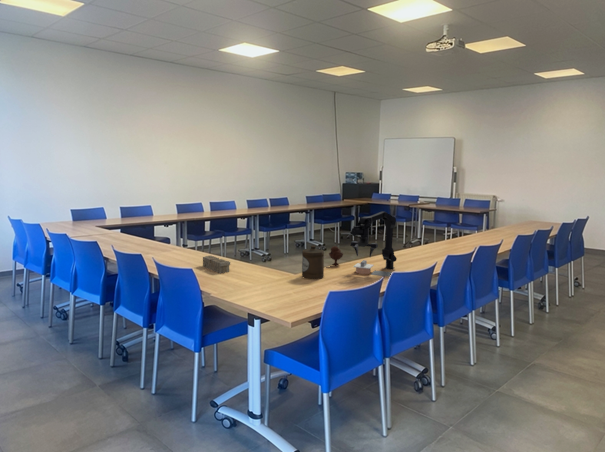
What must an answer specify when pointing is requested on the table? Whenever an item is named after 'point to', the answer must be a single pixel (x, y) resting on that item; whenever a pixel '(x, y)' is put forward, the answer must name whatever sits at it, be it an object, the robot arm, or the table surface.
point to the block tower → (216, 264)
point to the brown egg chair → (335, 254)
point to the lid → (363, 265)
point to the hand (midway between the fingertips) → (363, 256)
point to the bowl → (363, 270)
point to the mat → (381, 273)
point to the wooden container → (313, 263)
